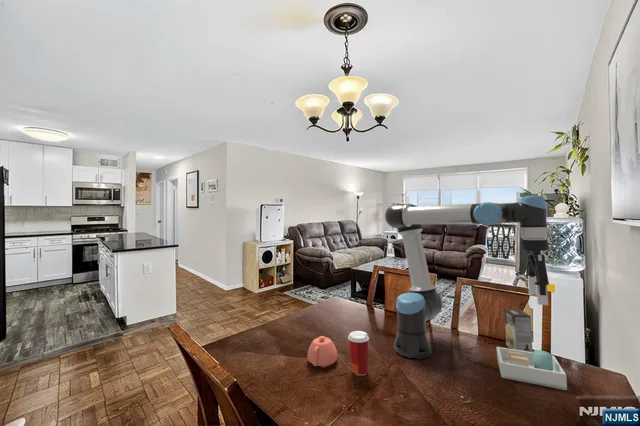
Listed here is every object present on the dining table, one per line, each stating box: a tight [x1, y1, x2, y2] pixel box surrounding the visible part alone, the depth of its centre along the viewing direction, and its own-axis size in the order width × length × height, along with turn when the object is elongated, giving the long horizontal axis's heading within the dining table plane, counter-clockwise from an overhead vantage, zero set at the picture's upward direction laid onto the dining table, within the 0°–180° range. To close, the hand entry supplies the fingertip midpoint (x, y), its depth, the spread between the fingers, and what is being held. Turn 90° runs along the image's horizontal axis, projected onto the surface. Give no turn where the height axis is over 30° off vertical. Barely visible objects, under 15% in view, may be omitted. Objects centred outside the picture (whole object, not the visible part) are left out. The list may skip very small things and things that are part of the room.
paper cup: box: [347, 330, 370, 374], centre depth 102 cm, size 8×8×14 cm
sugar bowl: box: [307, 335, 339, 367], centre depth 109 cm, size 12×14×10 cm
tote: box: [496, 346, 568, 391], centre depth 97 cm, size 18×14×5 cm
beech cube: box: [509, 351, 529, 367], centre depth 98 cm, size 5×5×5 cm
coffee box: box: [503, 308, 533, 352], centre depth 114 cm, size 9×6×16 cm
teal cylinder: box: [533, 349, 553, 371], centre depth 95 cm, size 5×5×7 cm
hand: (537, 299), depth 96 cm, fingers open, 13 cm apart
